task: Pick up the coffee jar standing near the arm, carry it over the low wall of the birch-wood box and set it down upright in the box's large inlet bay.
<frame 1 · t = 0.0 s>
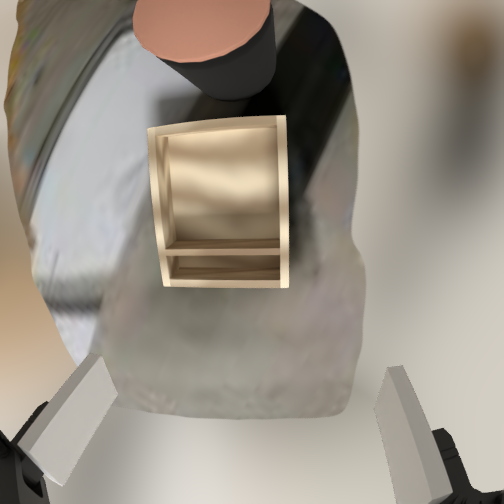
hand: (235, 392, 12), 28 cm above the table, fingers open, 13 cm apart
walled box: (225, 200, 37), on the table
coffee jar: (235, 66, 32), on the table
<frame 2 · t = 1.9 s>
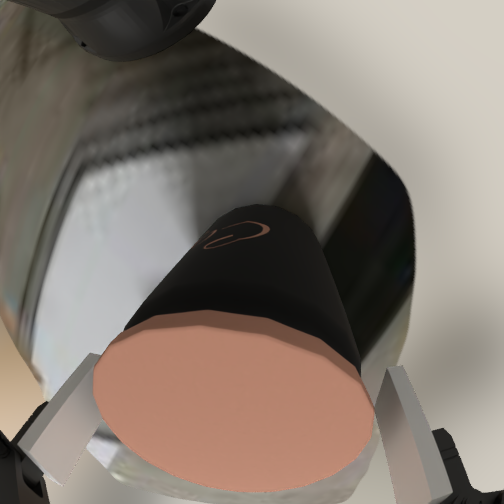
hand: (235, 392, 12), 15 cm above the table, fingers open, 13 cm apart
coffee jar: (261, 261, 26), on the table
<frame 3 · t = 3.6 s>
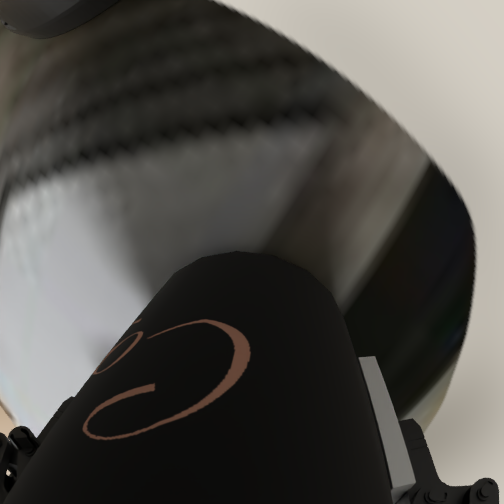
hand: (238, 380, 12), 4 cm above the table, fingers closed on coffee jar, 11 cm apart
coffee jar: (248, 331, 16), on the table, touching gripper
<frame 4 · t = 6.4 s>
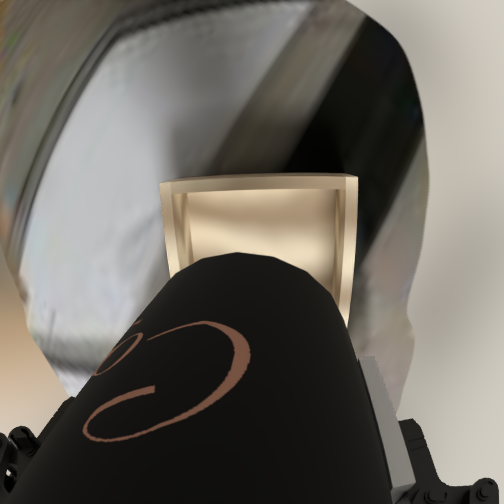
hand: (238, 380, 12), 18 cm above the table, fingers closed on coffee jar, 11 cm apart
walled box: (263, 272, 30), on the table
coffee jar: (248, 332, 16), point 14 cm above the table, touching gripper
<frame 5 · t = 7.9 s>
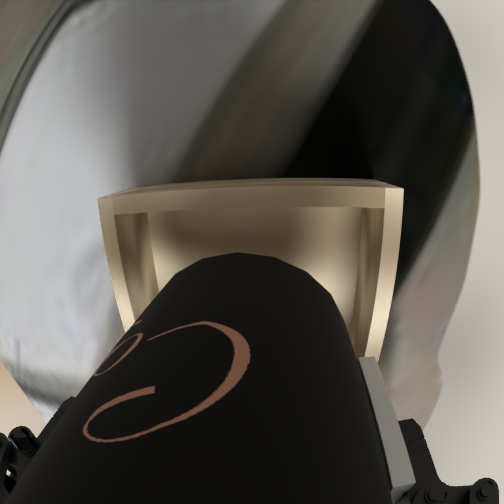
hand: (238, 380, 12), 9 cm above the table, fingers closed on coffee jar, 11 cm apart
walled box: (256, 317, 21), on the table
coffee jar: (248, 332, 16), point 5 cm above the table, touching gripper
when the fingers open (7 cm above the table, at t = 9.3 s): coffee jar drops 2 cm, resting on walled box.
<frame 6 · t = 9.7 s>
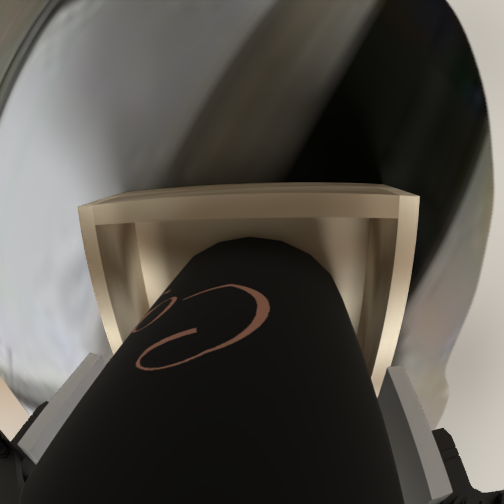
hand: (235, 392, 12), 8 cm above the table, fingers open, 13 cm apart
walled box: (253, 333, 19), on the table
coffee jar: (256, 311, 18), point 1 cm above the table, touching walled box
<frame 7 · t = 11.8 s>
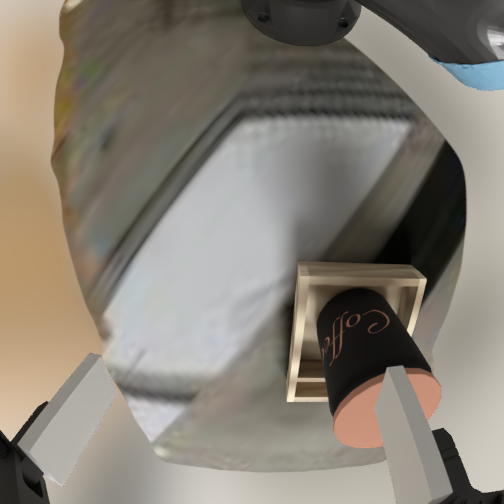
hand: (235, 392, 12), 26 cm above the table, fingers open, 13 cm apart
walled box: (347, 328, 39), on the table
coffee jar: (352, 318, 38), point 1 cm above the table, touching walled box
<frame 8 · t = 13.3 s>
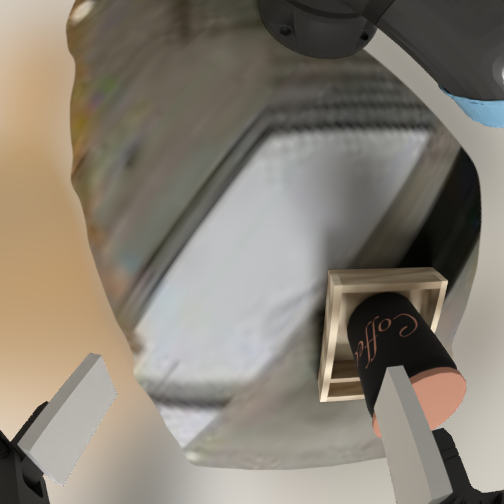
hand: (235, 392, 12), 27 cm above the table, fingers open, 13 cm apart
walled box: (374, 329, 40), on the table
coffee jar: (379, 320, 39), point 1 cm above the table, touching walled box
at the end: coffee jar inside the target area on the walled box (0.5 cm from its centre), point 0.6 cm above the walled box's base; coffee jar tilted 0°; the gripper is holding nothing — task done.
